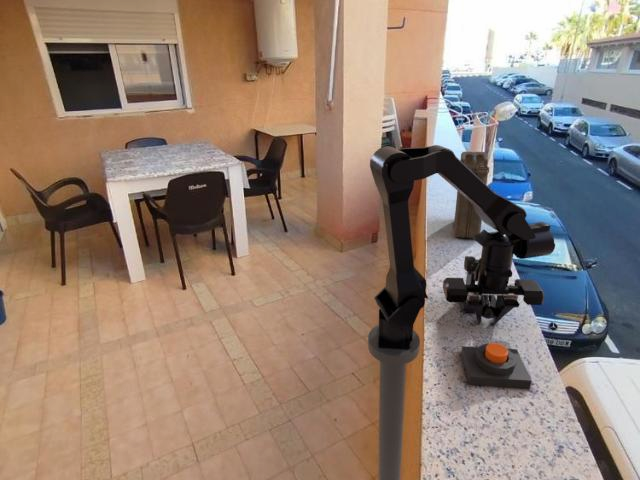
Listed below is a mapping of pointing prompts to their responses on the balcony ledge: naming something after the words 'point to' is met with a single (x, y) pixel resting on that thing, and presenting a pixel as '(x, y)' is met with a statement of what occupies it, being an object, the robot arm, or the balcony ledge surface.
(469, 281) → the switch mount
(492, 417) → the balcony ledge surface
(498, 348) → the button
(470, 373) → the control block
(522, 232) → the robot arm
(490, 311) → the lever
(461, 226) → the brown upright rectangular block
